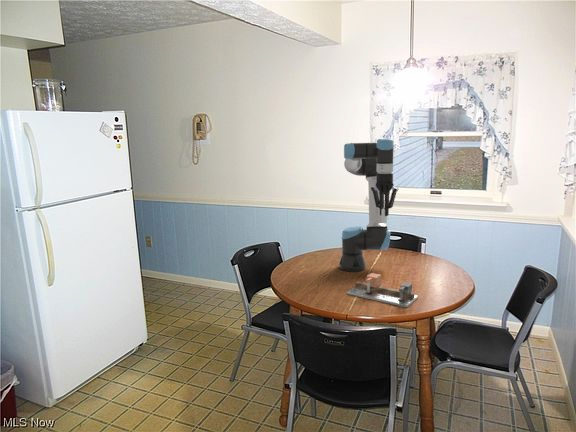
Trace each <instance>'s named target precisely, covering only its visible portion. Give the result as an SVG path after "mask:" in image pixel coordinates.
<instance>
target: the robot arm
mask: <svg viewBox="0 0 576 432" xmlns="http://www.w3.org/2000/svg"><path fill="white" fill-rule="evenodd" d="M394 147H395V145H394V139H393V138H378V139H377V140H376V142H350V143H348V142H347V143H345V144H344V145H343V158H344V159H345V160H344V163H343V164H344V165H343V166H344V168H345V170H346V171H347V172H348V173H349V174H352V175H355V176H358V177H359V176H360V177H361V176H362V177H364V176H365V180H366V181H367V183H368V224H367V225H365V226H366V227H365V228H366V229H364V227H362V226H349V227H347V228H344V229H343V230H342V234H341V242H342V243H341V244H342V245H341V246H342V248H341V249H342V250H341V254H342V255H341V257H340V260H339V263H338V267H339V269H340V270H341V271H346V272H352V273H353V272H361V271H363V270H366V268H367V264H366V261H365V257H364V253H363V252H364V251H385V250H388V249H389V247H390V242H391V229H389V228H388V225H387V224H386V223H387V222H388V216H389V215H390V214H389V213H390V211H389V210H390V209H392V208H394V203H395V199H396V197H397V196H396V195H397V192H398V191H399V188H398V187H396V186H395V183H394ZM391 191H392V192H391ZM390 194H391V195H390Z"/></svg>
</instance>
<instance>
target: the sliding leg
mask: <svg viewBox="0 0 576 432" xmlns="http://www.w3.org/2000/svg"><path fill="white" fill-rule="evenodd" d="M365 281H366V282H365V283H367V293H370V287H375V288H377V287H378V286H382V274H378V273H374V272H371V273H369V274H367V275H366V280H365Z"/></svg>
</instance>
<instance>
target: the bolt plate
mask: <svg viewBox="0 0 576 432" xmlns="http://www.w3.org/2000/svg"><path fill="white" fill-rule="evenodd" d="M346 294H347V295H350V296H354V297H359V298H363V299H367V300H373V301H376V302H380V303H385V304H388V305H389V304H390V305H394V306H398V307H402V308H406V309H407V308H409V307H410V306H411V305H412V304H413V303H414V302H415V301H416V300H417V299H418V298H419V297H418V296H419V295H417V294H414V298H413V299H410V298H405V297H403V301H400V296H396V295H392V294H387V293H382V292H378V291H373V290H370V293H367V289H364V288H360V287H356V285H355V286H353V287H352V288H351V289H348V290H347V291H346Z"/></svg>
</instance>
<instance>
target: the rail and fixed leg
mask: <svg viewBox="0 0 576 432" xmlns="http://www.w3.org/2000/svg"><path fill="white" fill-rule="evenodd" d="M355 286H356V287H360V288H364V289H367V282H363V281H356V282H355ZM370 290H373V291H378V292H382V293H387V294H392V295H396V296H400V301H403V297H405V298H410V299H413V298H414V295H416V293H415V292H413V283H411V282H407V281H403V283H401V284H400V288H399V289H396V288H392V287H387V286H382V285H380V286H378V287H377V288H375V287H370Z"/></svg>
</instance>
